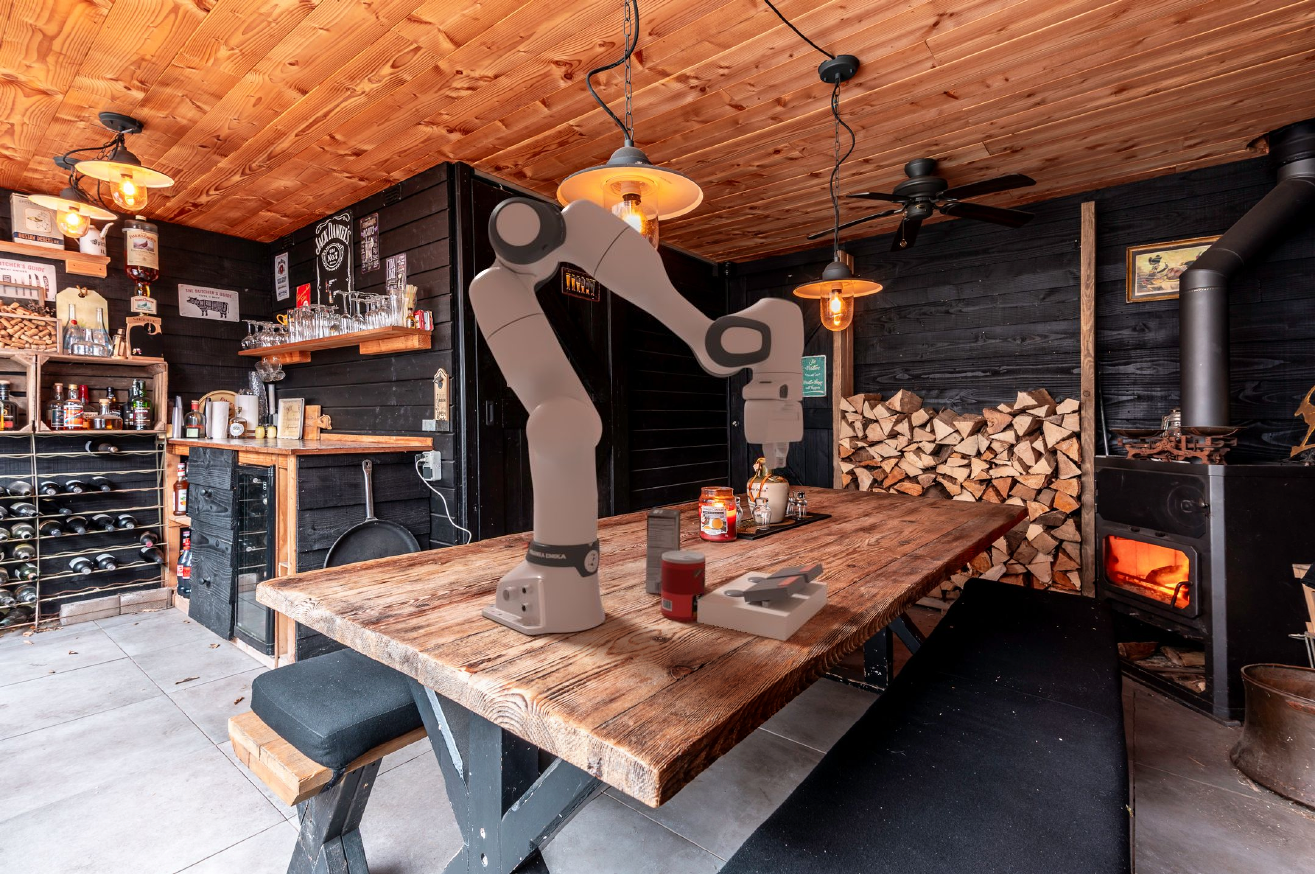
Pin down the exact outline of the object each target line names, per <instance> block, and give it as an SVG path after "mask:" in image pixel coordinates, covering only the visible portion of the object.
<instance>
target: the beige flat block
mask: <svg viewBox="0 0 1315 874" xmlns="http://www.w3.org/2000/svg"><path fill="white" fill-rule="evenodd" d="M772 574H773V573H767V572H766V573H765V572H764V573H763V572H759V571H752V570H751V571H749V572H747V573H744V574H743V575H741V576H739V577H737V578H736V579H734V580H732V581H730V582H728V583H726V584H724V585H722V586H721V587H719V588H717V589H715V590H713V591H711V592H709V593H707V594H705V596H704V597H702V598H700V599H698V612H697V620H696V621H697V623H699V624H703V623H704V625H709V626H713V625H714V626H713V627H717V626H719V627H718V628H722V627H723V629H727V628H728V630H731V629H734V630H733V631H736V630H737V632H740V631H741V632H742V633H745V632H747V633H746V634H750V635H753V636H754V635H755V636H760V637H764V638H768V639H769V638H770V639H774V640H779V641H782V642H786V641H787V640H788V639H789V638H790V637H791V636H792V635H794V634H795V633H796V632H797V631H799V629H800V628H801V627H803V626H804V625H805V624H806V623H807V622H808V621H809V620H810V619H811V618H813V616H815V615H816V614H817V613H818V612H819V611H820V610H822V608H824V606H826V605H827V604H828V582H822V581H816V580H813V581H811V582H810V583H805V584H806V586H804V587H803V588H802V589H800V590H799V591H798V592H796V593H795V594H793V595H792V596H791V597H789V598H783V599H773V600H762V601H752V602H745V599H744V595H743V591H745V590H747V589H748V588H750V587H752V586H753V585H755V584H757V583H758V582H760V581H762V580H767V579H766V578H767V577H769V576H770V575H772Z"/></svg>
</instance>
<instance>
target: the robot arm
mask: <svg viewBox="0 0 1315 874" xmlns="http://www.w3.org/2000/svg"><path fill="white" fill-rule="evenodd" d="M488 238H489V243H490V245H491V247H492V248H493V250H494V252H495V257H496V258H495V260H494V262H493V264H492V265H491V266H490V267H489V268H487V269H484V270H483V271H480V272H479V273H478V274H477V275H476V276H474V278H473V279H472V281H471V283H470V285H469V288H468V289H469V290H468V295H469V299H470V304H471V306H472V310H473V313H474V315H475V318H476V321H477V324H478V327H479V328H480V331H481V333H482V335H483V338H484V339H485V341H486V344H487V346H488V348H489V349H490V351H491V353H492V356H493V357H494V359H495V361H496V363H497V365H498V367H499V369H500V371H501V374H502V375H503V377H504V379H505V381H506V383H507V384H508V385H509V387H510V388H511V389H512V390H513V392H514V393H515V395H516V396H517V398H518V400H520V402H521V404H522V405H523V407H524V408H525V410H526V411H527V412H528V415H529V417H528V419H527V421H526V427H525V428H526V429H525V431H526V432H525V433H526V438H527V442H528V444H527V445H528V454H529V455H528V457H529V465H530V473H531V481H532V488H533V490H532V491H533V537H532V539H531V540H530V541H526V542H525V541H524V542H522V543H521V545H522V547H521V548H520V549H521V550H526V549H527V551H526V554H525V557H524V558H525V559H524V560H523V561H522V562H520V563H519V564H517V565H516V566H515V567H514V568H513V569H511V570H510V571H509V572H507V573H506V574H505V575H504V576H502V577H501V578H500V580H498V583H497V586H496V591H495V600H494V601H492V602H490V603H487V605H485V606H484V607H483V608H482V609H481V616H483V617H485V618H487V619H490V620H493V621H495V622H497V623H499V624H502V625H504V626H506V627H508V628H510V629H513V630H515V631H518V632H520V633H522V634H524V635H528V636H531V635H532V636H535V635H542V634H550V633H551V634H553V633H555V634H556V633H572V632H573V633H574V632H579V631H580V632H581V631H586V630H589V629H592V628H595V627H598V626H599V625H601V624H602V623H603V622H605V620H606V613H605V610H604V606H603V603H602V597H601V589H600V582H599V571H598V570H599V565H600V559H601V558H600V557H601V555H600V554H601V553H600V552H601V551H600V549H601V548H600V538H598V520H599V519H598V517H599V516H598V514H599V510H598V509H599V508H598V507H599V506H598V505H599V501H598V500H599V498H598V497H599V493H598V486H597V485H598V483H597V471H596V468H597V467H596V446H598V444H599V442H600V440H601V437H602V433H603V423H602V419H601V416H600V414H599V412H598V411H597V408H596V407H595V405H594V403H593V401H592V400H591V398H590V396H589V394H588V392H587V391H586V389H585V387H584V386H583V384H582V381H581V380H580V378H579V376H578V374H577V373H576V371H575V370H574V368H573V366H572V364H571V362H570V360H569V359H568V358H567V356H566V354H565V352H564V350H563V349H562V346H561V344H560V343H559V340H558V338H557V336H556V335H555V332H554V330H553V329H552V326H551V325H550V323H549V320H548V319H547V317H546V315H545V312H544V311H543V309H542V307H541V305H540V303H539V300H538V298H537V296H536V293H537V292H538V291H539V289H541V288H542V287H543V286H544V285H545V284H547V283H548V282H549V281H550V280H551V279H553V278H554V277H555V275H556V274H557V271H558V270H559V268H560V264H561V263H562V262H565V263H566V262H567V263H570V264H573V265H575V266H577V267H579V268H581V269H582V270H584V271H585V272H586V273H587V274H588V275H589V276H591V277H592V278H593V279H594V280H595V281H597V282H599V284H601V285H602V286H604V287H605V288H606V289H608V290H610V291H612V292H613V293H614V294H616V295H618V296H619V297H621V298H623V299H625V300H627V301H628V302H630V303H631V304H634V305H635V306H637V307H639V308H640V309H642V310H644V311H645V312H646V313H648V314H651V316H653V317H654V318H655V319H657V320H658V322H660V323H661V324H663V325H664V326H665V327H666V328H668V329H669V330H670V331H671V332H673V334H675V335H676V336H677V337H678V338H680V339H681V340H682V341H684V343H685V344H687V345H688V347H689V348H690V349H691V351H692V353H693V355H694V357H695V358H696V361H697V362H698V364H699V366H700V367H701V368H702V369H703V371H704V372H706V373H707V374H709V375H711V376H713V377H717V378H726V377H728V378H729V377H731V376H734V375H736V374H737V373H739V372H740V371H741V370H742V369H744V368H749V369H751V370H752V380H750V382H749V383H748V384H745V386H743V387H742V398H743V399H744V400H746V401H745V403H744V408H743V409H744V412H743V413H744V415H743V416H744V417H743V418H744V420H743V421H744V436H745V439H746V441H747V444H748V443H749V444H762V453H763V456H764V467H765V469H767V470H775V469H777V468H784V467H786V465H787V462H786V461H787V460H786V459H787V456H788V452H789V449H790V446H789V445H790V443H791V442H793V443H794V442H801V441H802V439H803V436H804V419H803V418H804V417H803V415H804V414H803V413H804V412H803V406H802V403H801V401H803V396H804V394H803V393H804V391H803V389H804V371H803V370H804V369H803V365H802V357H803V354H804V349H805V333H804V330H805V329H804V328H805V327H804V319H803V313H802V311H801V308H800V306H799V305H798V304H796V302H794V301H792V300H788V299H786V298H782V297H764V298H761V299H759V301H757V302H756V303H754V304H753V305H751V306H749V307H747V308H745V309H743V310H740V311H738V312H736V313H732V314H728V315H724V316H721V317H718V318H717V319H716V320H712V319H711V318H708V317H707V316H706V315H705V314H704V313H703V312H701V311H700V310H699V309H698V308H696V307H695V306H694V305H693V304H692V303H691V302H689V301H688V300H687V299H686V298H685V297H684V296H683V295H681V294H680V292H678V290H677V289H676V288H675V287H674V286H673V284H672V283H671V280H670V279H669V276H668V274H667V272H666V269H665V267H664V266H665V265H664V263H663V260H662V257H661V255H660V253H659V252H658V251H657V250H656V248H655V247H654V246H653V244H651V243H650V242H649V240H648V239H647V238H646V237H645V236H644V235H643V234H642V233H641V232H639V231H638V230H636V228H634V227H633V226H632V225H631V224H629V223H628V222H626V221H625V220H624V219H622V218H621V217H619V216H618V215H616V214H614V213H613V212H612V211H610V210H608V209H606V207H603V206H601V205H599V204H598V203H596V202H593V201H592V200H589V199H586V198H579V199H576V200H574V201H572V202H570V203H568V205H566V206H565V207H564V208H563V209H562V211H561V209H560V208H559V207H558V206H556V205H555V204H553V203H547V202H541V201H538V200H534V199H531V198H527V197H518V196H517V197H515V196H514V197H510V198H507V199H505V200H502V201H501V202H499V204H497V205H496V206H495V207H494V209H493V211H492V212H491V215H490V217H489V221H488ZM523 545H524V546H523Z"/></svg>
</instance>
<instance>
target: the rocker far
mask: <svg viewBox="0 0 1315 874" xmlns="http://www.w3.org/2000/svg"><path fill="white" fill-rule="evenodd" d="M822 564H823V563H822V562H820V563H813V564H805V565H797V566H796V565H795V566H789V567H782V568H781V569H779V570H777V571H776V572H774V573H771V574H772V575H770V576H769V577H767V578H766V579H767V580H768V579H777V578H786V577H794V576H804V580H805V583H810V582H811V581H815V579H817V578H818V577H820V576H821V575H822V574H824V569H823V565H822Z"/></svg>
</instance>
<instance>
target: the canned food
mask: <svg viewBox="0 0 1315 874" xmlns="http://www.w3.org/2000/svg"><path fill="white" fill-rule="evenodd" d="M706 561H707V560H706V555H705V554H703V553H702V552H699V551H694V550H693V551H692V550H680V551H669V552H665V553H663V554H662V568H661V594H660V612H661V614H662V616H663V617H664V618H665V619H667V618H668V620H669V621H674V620H676V621H675V622H694V621H697V612H698V599H700V598H702V597H704V596H705V595H706V567H707V566H706Z"/></svg>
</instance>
